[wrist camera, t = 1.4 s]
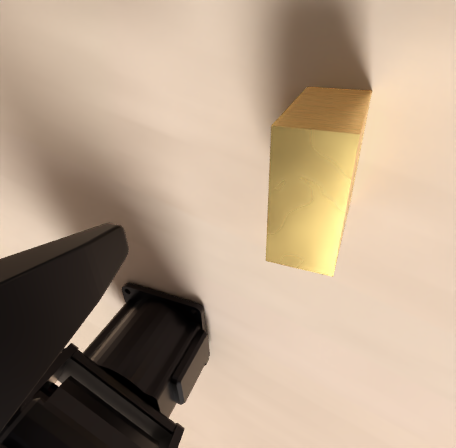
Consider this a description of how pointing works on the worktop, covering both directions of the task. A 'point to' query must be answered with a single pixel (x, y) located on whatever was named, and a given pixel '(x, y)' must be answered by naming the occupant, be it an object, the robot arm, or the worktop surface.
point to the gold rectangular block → (313, 176)
